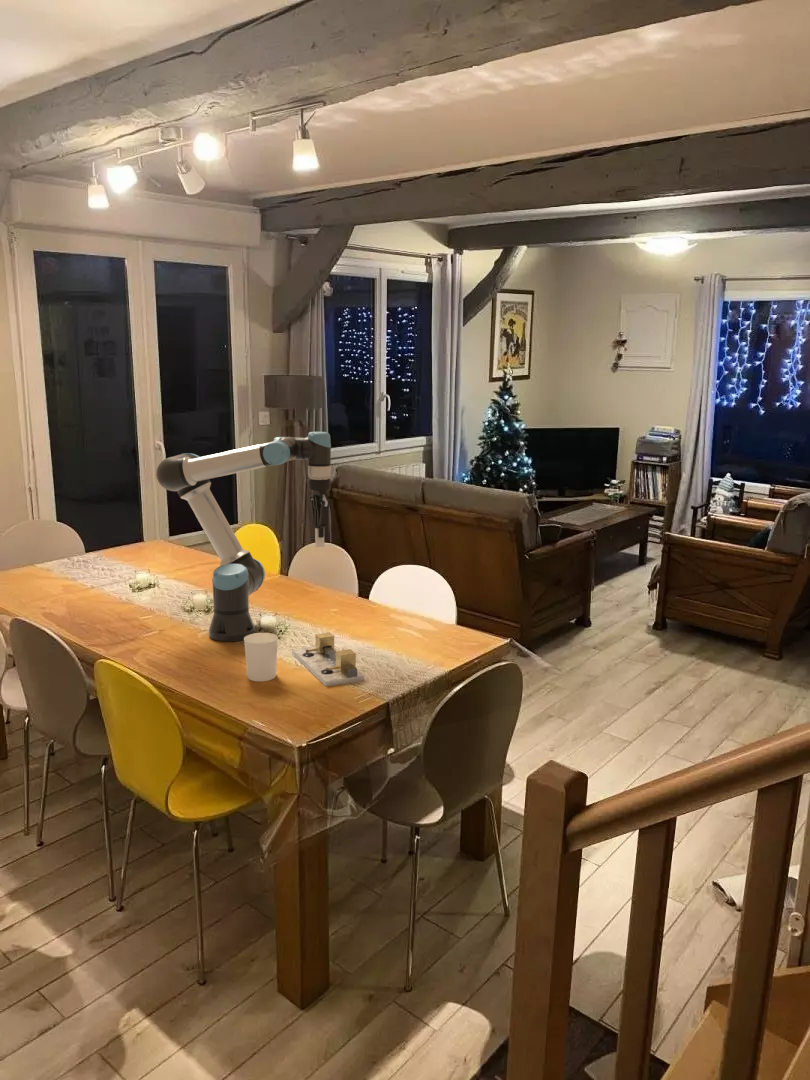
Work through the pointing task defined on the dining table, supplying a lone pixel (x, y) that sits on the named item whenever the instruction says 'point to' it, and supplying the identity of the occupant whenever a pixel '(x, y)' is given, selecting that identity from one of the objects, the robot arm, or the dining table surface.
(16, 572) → the dining table surface
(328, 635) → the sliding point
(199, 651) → the dining table surface
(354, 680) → the bolt plate
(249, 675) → the candle holder
